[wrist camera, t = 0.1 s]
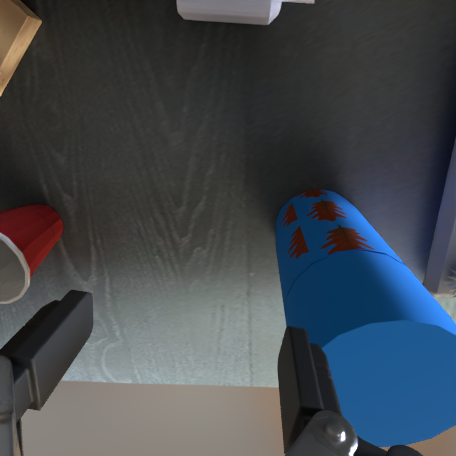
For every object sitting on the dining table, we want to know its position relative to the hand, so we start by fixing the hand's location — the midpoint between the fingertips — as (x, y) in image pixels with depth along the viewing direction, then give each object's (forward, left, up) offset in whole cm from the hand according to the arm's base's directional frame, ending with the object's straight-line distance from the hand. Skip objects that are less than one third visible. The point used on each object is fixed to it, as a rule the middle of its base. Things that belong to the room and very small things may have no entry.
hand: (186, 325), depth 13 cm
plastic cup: (+12, -25, -29) cm, 40 cm away
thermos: (+6, +12, -29) cm, 32 cm away
